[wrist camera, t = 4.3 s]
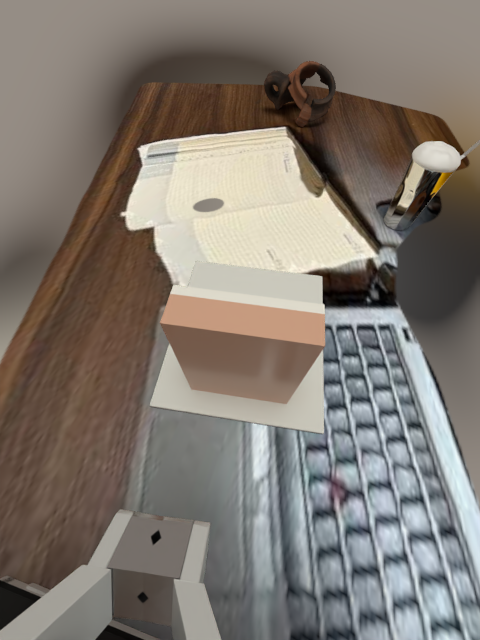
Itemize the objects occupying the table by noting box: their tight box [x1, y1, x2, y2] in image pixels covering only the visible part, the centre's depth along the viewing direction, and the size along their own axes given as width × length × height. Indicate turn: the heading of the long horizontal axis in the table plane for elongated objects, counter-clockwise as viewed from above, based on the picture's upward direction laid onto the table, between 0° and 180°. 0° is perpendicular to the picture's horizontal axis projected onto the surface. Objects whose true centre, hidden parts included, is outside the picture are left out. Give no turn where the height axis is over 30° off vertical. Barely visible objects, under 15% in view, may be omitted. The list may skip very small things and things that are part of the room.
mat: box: [150, 261, 324, 434], centre depth 26 cm, size 16×14×1 cm
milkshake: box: [383, 140, 480, 231], centre depth 30 cm, size 4×5×10 cm
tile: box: [160, 285, 325, 404], centre depth 18 cm, size 2×8×11 cm, turn 82°
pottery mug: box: [264, 61, 336, 127], centre depth 47 cm, size 12×10×8 cm
